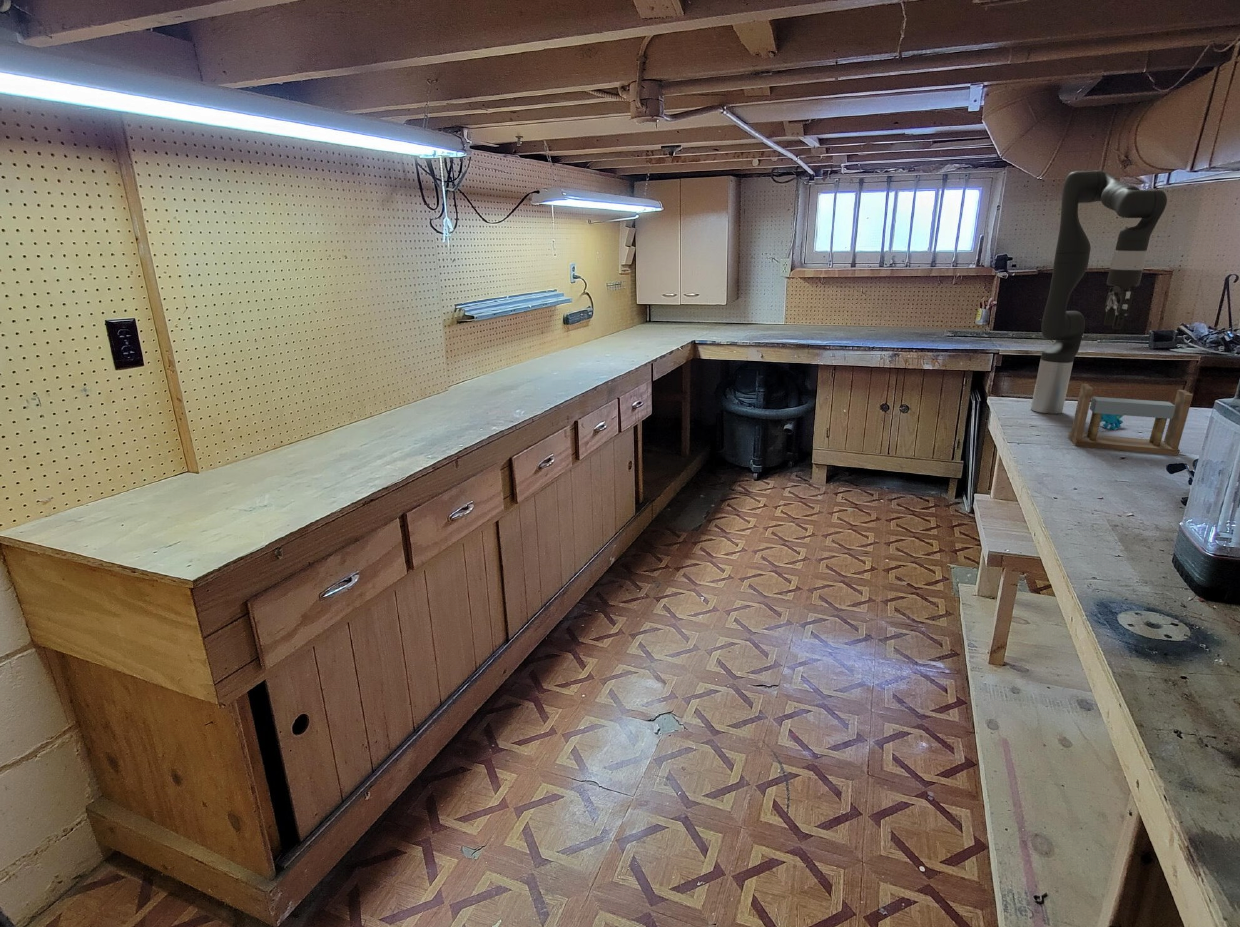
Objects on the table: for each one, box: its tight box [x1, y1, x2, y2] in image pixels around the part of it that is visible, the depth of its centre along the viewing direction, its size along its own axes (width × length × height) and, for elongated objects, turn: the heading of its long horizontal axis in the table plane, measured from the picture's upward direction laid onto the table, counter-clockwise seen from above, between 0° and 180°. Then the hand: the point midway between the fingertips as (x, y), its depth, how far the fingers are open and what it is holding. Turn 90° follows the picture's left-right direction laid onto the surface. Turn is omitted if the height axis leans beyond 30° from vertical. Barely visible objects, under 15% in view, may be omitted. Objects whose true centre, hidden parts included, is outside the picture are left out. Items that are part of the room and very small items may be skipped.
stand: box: [1068, 383, 1194, 456], centre depth 186 cm, size 9×24×16 cm, turn 68°
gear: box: [1100, 414, 1125, 431], centre depth 208 cm, size 11×6×10 cm
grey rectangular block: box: [1089, 396, 1176, 420], centre depth 185 cm, size 18×5×4 cm, turn 68°
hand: (1112, 327), depth 189 cm, fingers open, 8 cm apart
